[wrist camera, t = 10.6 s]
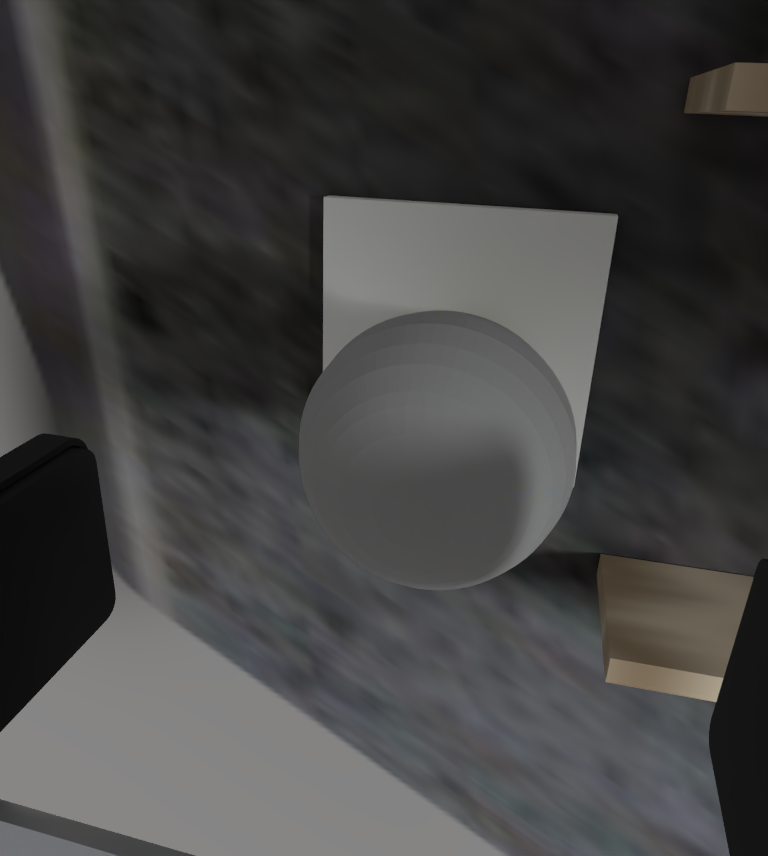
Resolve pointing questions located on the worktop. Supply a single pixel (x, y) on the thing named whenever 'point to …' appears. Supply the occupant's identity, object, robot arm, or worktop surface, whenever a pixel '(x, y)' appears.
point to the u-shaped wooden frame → (665, 583)
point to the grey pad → (472, 275)
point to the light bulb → (437, 450)
